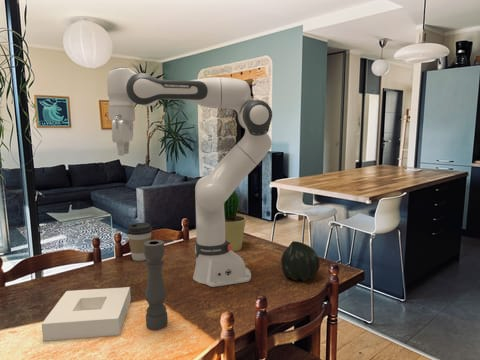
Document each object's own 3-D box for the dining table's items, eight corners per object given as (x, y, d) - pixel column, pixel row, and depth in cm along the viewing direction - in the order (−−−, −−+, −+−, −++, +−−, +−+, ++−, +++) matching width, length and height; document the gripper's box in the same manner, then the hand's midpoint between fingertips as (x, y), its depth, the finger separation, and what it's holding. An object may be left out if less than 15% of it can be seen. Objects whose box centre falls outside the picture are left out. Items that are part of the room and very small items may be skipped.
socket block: (130, 301, 120) (130, 287, 119) (119, 335, 100) (118, 318, 99) (67, 305, 117) (66, 290, 116) (43, 341, 97) (41, 323, 97)
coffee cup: (130, 254, 165) (129, 222, 163) (155, 253, 166) (154, 221, 164) (124, 263, 154) (123, 229, 151) (151, 262, 155) (150, 228, 152)
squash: (333, 265, 137) (311, 231, 142) (310, 278, 126) (287, 241, 131) (309, 280, 146) (289, 248, 151) (286, 293, 135) (266, 258, 140)
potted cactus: (250, 244, 178) (250, 185, 173) (239, 254, 163) (239, 190, 159) (221, 241, 183) (221, 183, 179) (208, 250, 169) (207, 188, 164)
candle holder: (162, 331, 102) (159, 247, 98) (142, 329, 103) (138, 245, 100) (170, 320, 108) (168, 240, 104) (151, 318, 109) (148, 238, 106)
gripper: (126, 114, 116) (128, 156, 118) (135, 116, 137) (136, 152, 139) (105, 114, 116) (108, 156, 118) (118, 116, 136) (120, 152, 138)
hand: (123, 154), depth 128 cm, fingers open, 8 cm apart
